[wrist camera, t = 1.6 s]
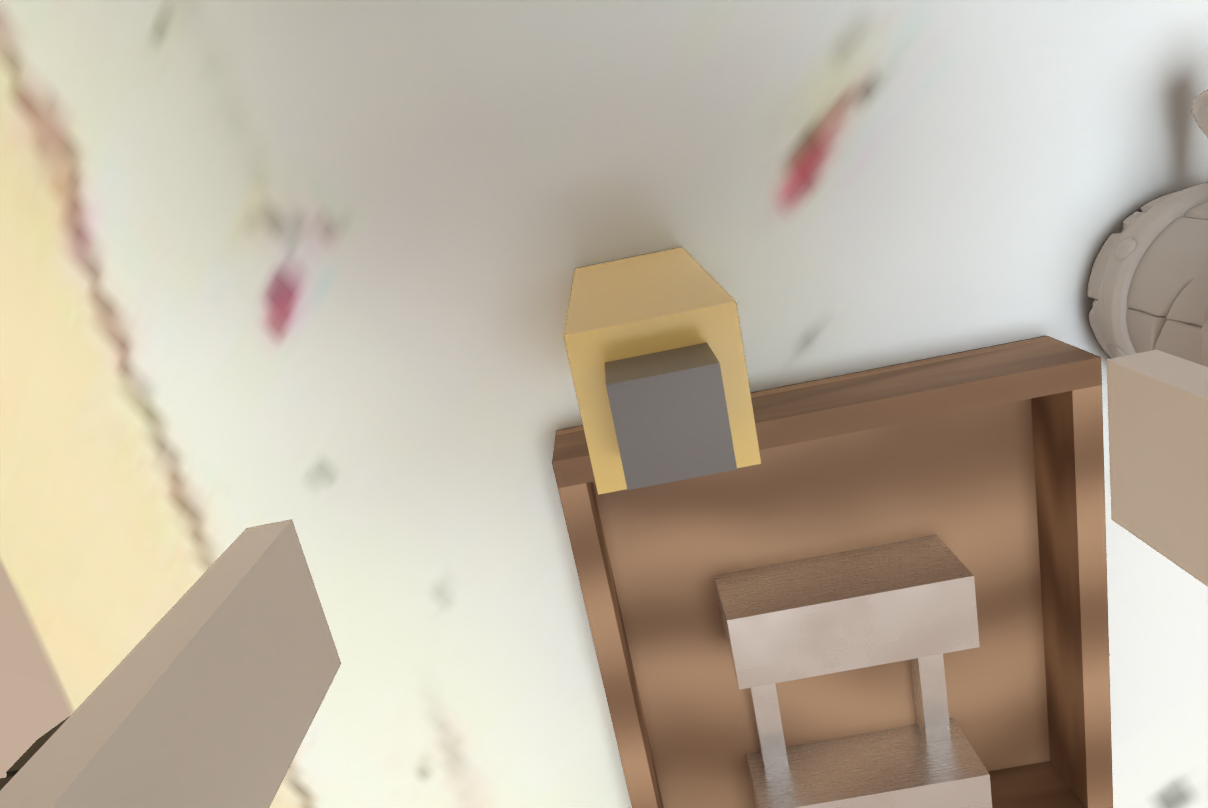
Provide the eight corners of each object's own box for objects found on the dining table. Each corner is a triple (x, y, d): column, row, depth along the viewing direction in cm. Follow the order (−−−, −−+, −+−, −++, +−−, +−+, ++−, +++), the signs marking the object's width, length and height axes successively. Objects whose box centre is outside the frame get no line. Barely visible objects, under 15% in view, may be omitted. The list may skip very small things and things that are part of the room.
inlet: (714, 575, 33) (727, 620, 30) (936, 534, 33) (974, 575, 30) (756, 808, 37) (771, 872, 33) (958, 774, 36) (994, 835, 33)
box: (556, 430, 32) (552, 462, 29) (1046, 335, 31) (1100, 357, 28) (648, 836, 38) (654, 902, 34) (1066, 765, 37) (1113, 826, 34)
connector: (575, 268, 30) (560, 356, 17) (682, 246, 30) (752, 317, 17) (596, 371, 32) (598, 530, 18) (699, 351, 31) (779, 496, 18)
